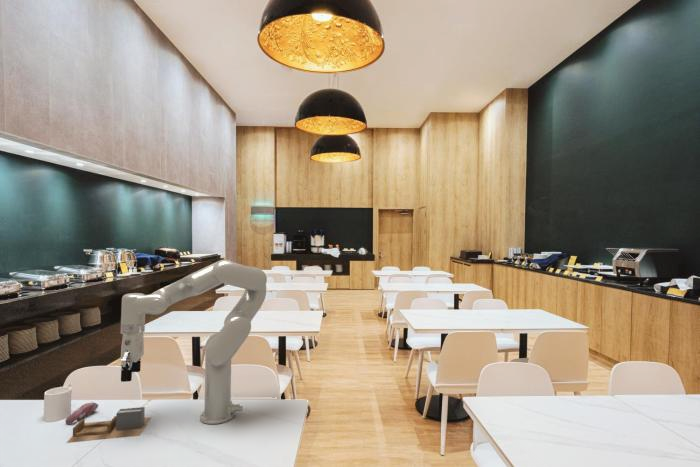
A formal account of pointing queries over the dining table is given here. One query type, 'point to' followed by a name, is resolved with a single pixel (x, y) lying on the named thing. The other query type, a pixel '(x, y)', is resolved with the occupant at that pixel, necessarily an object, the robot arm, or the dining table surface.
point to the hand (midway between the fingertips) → (130, 376)
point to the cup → (57, 403)
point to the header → (102, 431)
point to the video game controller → (82, 412)
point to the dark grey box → (130, 418)
